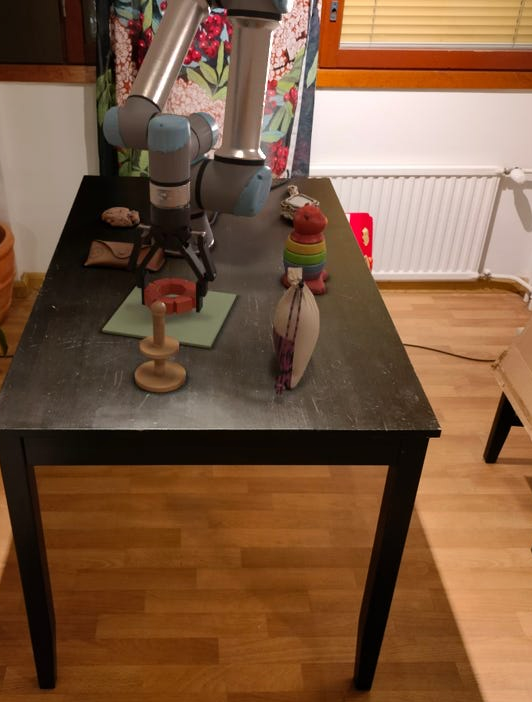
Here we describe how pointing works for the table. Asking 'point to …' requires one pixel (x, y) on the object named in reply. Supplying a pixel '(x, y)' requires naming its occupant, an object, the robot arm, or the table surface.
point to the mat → (173, 319)
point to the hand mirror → (295, 202)
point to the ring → (174, 287)
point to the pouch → (295, 330)
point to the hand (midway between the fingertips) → (172, 305)
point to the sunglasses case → (121, 255)
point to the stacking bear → (307, 248)
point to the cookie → (120, 217)
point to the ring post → (159, 357)
